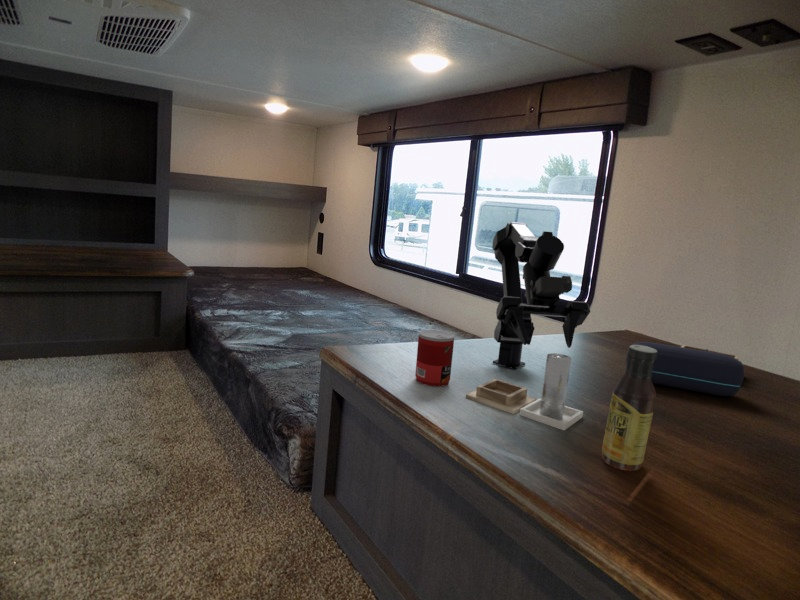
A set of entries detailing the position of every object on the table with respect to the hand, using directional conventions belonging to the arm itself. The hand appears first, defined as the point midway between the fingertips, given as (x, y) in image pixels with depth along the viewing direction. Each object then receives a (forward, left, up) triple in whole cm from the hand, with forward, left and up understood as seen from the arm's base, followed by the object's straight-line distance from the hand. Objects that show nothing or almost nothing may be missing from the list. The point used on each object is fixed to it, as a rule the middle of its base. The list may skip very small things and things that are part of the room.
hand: (547, 345), depth 104 cm
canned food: (+6, -23, -13) cm, 27 cm away
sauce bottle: (+14, +21, -13) cm, 28 cm away
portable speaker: (-40, +18, -13) cm, 46 cm away
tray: (+5, +5, -13) cm, 15 cm away
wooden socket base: (+5, -6, -13) cm, 15 cm away
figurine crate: (-63, +20, -13) cm, 67 cm away
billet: (+5, +5, -12) cm, 14 cm away
